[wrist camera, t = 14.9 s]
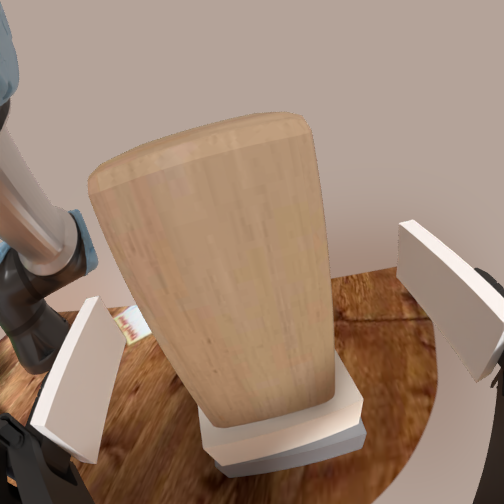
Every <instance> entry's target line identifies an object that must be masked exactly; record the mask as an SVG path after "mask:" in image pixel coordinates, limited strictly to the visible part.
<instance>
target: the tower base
mask: <svg viewBox="0 0 504 504" xmlns="http://www.w3.org/2000/svg"><path fill="white" fill-rule="evenodd" d="M365 437H366V430H365V428H364V425H363V422H362V420H361V417H360V419H359V424H357V425H355V426H353V427H350V428H348V429H345V430H343V431H341V432H338V433H336V434H333V435H330V436H328V437H325V438H323V439H320V440H317V441H314V442H311V443H309V444H306V445H303V446H300V447H296V448H293V449H290V450H287V451H283V452H280V453H277V454H273V455H269V456H266V457H262V458H258V459H254V460H249V461H245V462H241V463H236V464H231V465H226V466H221V465H220V464H219V463H218V462H217V461H216V460H215V467H216V468H217V469H219V470H220V471H221V472H222V473H223V474H225V475H226V476H227V477H228V478H233V477H241V476H249V475H256V474H262V473H268V472H274V471H279V470H285V469H289V468H294V467H299V466H303V465H307V464H311V463H315V462H319V461H322V460H326V459H330V458H333V457H336V456H340V455H343V454H346V453H349V452H352V451H355V450H358V449H361V448H362V446H363V443H364V440H365Z"/></svg>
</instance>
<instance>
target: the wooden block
mask: <svg viewBox="0 0 504 504" xmlns="http://www.w3.org/2000/svg"><path fill="white" fill-rule="evenodd" d="M88 194H89V198H90V200H91V203H92V206H93V209H94V211H95V214H96V216H97V219H98V221H99V224H100V226H101V229H102V231H103V233H104V236H105V238H106V241H107V243H108V245H109V247H110V250H111V252H112V254H113V256H114V259H115V261H116V263H117V265H118V267H119V270H120V272H121V274H122V276H123V278H124V280H125V282H126V284H127V286H128V288H129V290H130V292H131V294H132V296H133V298H134V300H135V301H136V304H137V306H138V308H139V309H140V311H141V313H142V315H143V317H144V319H145V321H146V322H147V324H148V326H149V328H150V330H151V331H152V333H153V335H154V337H155V338H156V340H157V342H158V343H159V345H160V347H161V349H162V350H163V352H164V354H165V355H166V357H167V359H168V360H169V362H170V363H171V365H172V367H173V368H174V370H175V371H176V373H177V374H178V376H179V378H180V379H181V381H182V382H183V384H184V385H185V387H186V388H187V390H188V391H189V393H190V394H191V396H192V397H193V399H194V400H195V401H196V403H197V404H198V406H199V407H200V409H201V410H202V411H203V413H204V414H205V416H206V417H207V418H208V420H209V421H210V422H211V424H212V425H213V426H214V427H217V428H229V427H235V426H240V425H245V424H249V423H254V422H258V421H263V420H267V419H271V418H275V417H279V416H283V415H286V414H290V413H294V412H297V411H300V410H304V409H307V408H310V407H314V406H317V405H320V404H323V403H326V402H327V401H329V400H330V399H332V398H333V397H334V395H335V347H334V322H333V304H332V289H331V276H330V265H329V254H328V244H327V234H326V225H325V216H324V208H323V200H322V194H321V186H320V179H319V172H318V166H317V159H316V153H315V147H314V141H313V135H312V130H311V129H310V127H309V125H308V124H307V122H306V121H305V119H304V118H303V116H301V115H297V114H293V113H289V112H270V113H254V114H249V115H245V116H240V117H236V118H231V119H227V120H223V121H219V122H215V123H211V124H207V125H203V126H200V127H196V128H193V129H189V130H186V131H182V132H179V133H176V134H173V135H169V136H166V137H163V138H160V139H157V140H154V141H151V142H148V143H145V144H142V145H139V146H137V147H135V148H133V149H131V150H129V151H126V152H124V153H122V154H120V155H118V156H116V157H114V158H112V159H110V160H108V161H106V162H104V163H102V164H100V165H99V166H98V168H97V169H95V171H94V172H93V173H92V174H91V175H90V176H89V179H88Z"/></svg>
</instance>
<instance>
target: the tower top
mask: <svg viewBox="0 0 504 504" xmlns="http://www.w3.org/2000/svg"><path fill="white" fill-rule="evenodd" d="M362 404H363V397H362V396H361V394H360V392H359V390H358V389H357V387H356V385H355V383H354V382H353V380H352V378H351V376H350V375H349V373H348V371H347V369H346V368H345V366H344V364H343V362H342V361H341V359H340V357H339V356H338V354H337V352H336V350H335V395H334V397H333V398H332V399H330V400H329V401H327V402H326V403H323V404H320V405H317V406H314V407H310V408H307V409H304V410H300V411H297V412H294V413H290V414H286V415H283V416H279V417H275V418H271V419H267V420H263V421H258V422H254V423H249V424H245V425H240V426H235V427H229V428H217V427H214V426H213V425H212V424H211V422H210V421H209V420H208V418H207V417H206V416H205V414H204V413H203V411H202V410H201V409H200V407H199V406H198V412H199V421H200V429H201V437H202V444H203V449H204V450H205V451H206V452H207V453H208V454H209V455H210V456H211V457H213V458H214V459H215V460H216V461H217V462H218V463H219V464H220V465H221V466H226V465H231V464H236V463H241V462H245V461H249V460H254V459H258V458H262V457H266V456H269V455H273V454H277V453H280V452H283V451H287V450H290V449H293V448H296V447H300V446H303V445H306V444H309V443H311V442H314V441H317V440H320V439H323V438H325V437H328V436H330V435H333V434H336V433H338V432H341V431H343V430H345V429H348V428H350V427H353V426H355V425H357V424H359V419H360V415H361V409H362Z"/></svg>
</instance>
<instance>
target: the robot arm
mask: <svg viewBox="0 0 504 504" xmlns="http://www.w3.org/2000/svg"><path fill="white" fill-rule="evenodd" d="M18 83H19V69H18V61H17V56H16V51H15V48H14V46H13V43H12V35H11V31H10V28H9V25H8V22H7V19H6V16H5V13H4V10H3V8H2V5H1V3H0V239H1V240H3V242H2V243H0V326H1V327H2V329H3V330H4V331H5V333H6V334H7V336H8V337H9V339H10V341H11V343H12V346H13V348H14V351H15V353H16V355H17V357H18V360H19V362H20V364H21V365H22V366H23V367H24V369H25V370H26V371H27V372H28V373H30V374H41V373H44V372H46V371H48V370H49V372H48V373H47V374H46V376H45V377H44V380H43V382H42V384H41V389H39V392H38V394H37V395H38V397H36V399H35V402H34V404H33V407H32V410H31V412H30V415H29V418H28V421H27V424H26V426H25V427H24V426H23V425H22V424H20V423H19V422H18V421H17V420H16V419H15V418H14V417H12V416H11V415H10V414H9V413H3V414H1V415H0V504H95V503H94V501H93V499H92V497H91V496H90V494H89V492H88V490H87V488H86V486H85V484H84V482H83V481H82V479H81V477H80V474H79V472H78V470H77V468H76V466H75V465H74V463H73V462H71V461H70V458H71V455H72V456H73V457H75V458H76V459H78V460H79V461H81V462H85V463H91V464H97V459H98V453H99V448H100V443H101V438H102V433H103V428H104V424H105V419H106V415H107V410H108V406H109V402H110V398H111V394H112V390H113V386H114V382H115V379H116V375H117V371H118V368H119V364H120V361H121V357H122V354H123V350H124V347H125V344H126V338H125V337H124V335H123V334H122V332H121V330H120V329H119V327H118V326H117V324H116V323H115V321H114V319H113V318H112V316H111V315H110V313H109V311H108V310H107V308H106V306H105V305H104V303H103V301H102V299H101V298H100V296H96V297H91V298H87V299H86V300H85V302H84V304H83V306H82V308H81V309H80V311H79V313H78V315H77V317H76V319H75V321H74V323H73V325H72V327H71V325H70V324H69V322H68V321H67V320H66V319H65V318H63V317H62V316H61V315H59V314H58V313H57V312H56V311H55V310H53V309H52V308H51V307H50V306H49V305H48V304H47V303H46V301H45V300H44V297H46V296H48V295H50V294H51V293H53V292H55V291H57V290H59V289H60V288H62V287H64V286H66V285H67V284H69V283H71V282H73V281H75V280H77V279H78V278H80V277H82V276H86V275H87V274H88V273H89V272H91V271H92V270H94V269H95V268H96V267H97V265H98V258H97V255H96V252H95V249H94V247H93V244H92V241H91V238H90V235H89V233H88V230H87V227H86V225H85V222H84V219H83V217H82V214H81V213H80V211H79V210H77V209H75V210H72V211H71V210H70V211H68V212H67V211H65V210H64V209H62V208H59V207H56V206H53V205H52V204H51V202H50V201H49V199H48V198H47V196H46V195H45V193H44V192H43V190H42V188H41V187H40V185H39V184H38V182H37V181H36V179H35V177H34V176H33V174H32V172H31V171H30V169H29V167H28V166H27V164H26V162H25V161H24V159H23V157H22V155H21V153H20V152H19V150H18V148H17V146H16V144H15V143H14V141H13V139H12V137H11V135H10V133H9V131H8V129H7V127H6V123H7V120H8V118H9V114H10V110H11V98H10V97H11V96H12V95H13V94H14V93H15V91H16V90H17V87H18ZM397 262H398V263H397V276H396V277H397V278H398V279H399V280H400V281H401V283H402V284H403V285H404V286H405V287H406V289H407V290H408V291H409V292H410V293H411V295H412V296H413V297H414V298H415V300H416V301H417V302H418V303H419V305H420V306H421V307H422V308H423V310H424V311H425V312H426V313H427V315H428V316H429V317H430V319H431V320H432V321H433V323H434V324H435V325H436V326H437V328H438V329H439V330H440V332H441V333H442V334H443V336H444V337H445V339H446V340H447V341H448V343H449V344H450V345H451V347H452V348H453V350H454V351H455V352H456V354H457V355H458V357H459V358H460V360H461V361H462V362H463V364H464V365H465V367H466V368H467V370H468V371H469V373H470V374H471V376H472V377H473V379H474V381H475V382H476V383H477V382H479V381H480V380H482V379H483V378H485V377H486V376H488V375H489V374H490V373H491V372H492V371H493V369H494V367H495V366H496V364H497V363H498V364H499V365H500V366H501V369H500V370H499V372H498V374H497V375H496V377H495V378H494V380H493V381H492V384H491V388H493V387H494V385H495V384H496V382H497V381H498V386H497V399H496V407H495V415H494V421H493V428H492V433H491V438H490V443H489V448H488V453H487V458H486V461H485V465H484V469H483V473H482V476H481V480H480V483H479V486H478V489H477V492H476V495H475V498H474V501H473V504H504V288H503V287H502V286H501V285H500V284H499V283H497V281H496V280H495V279H494V278H493V277H492V276H490V275H489V274H488V273H487V272H485V271H483V270H481V269H479V268H475V269H473V268H471V266H469V265H468V264H467V263H466V262H465V261H464V260H462V259H461V258H460V257H459V256H458V255H457V254H455V253H454V252H453V251H452V250H451V249H450V248H448V247H447V246H446V245H445V244H444V243H442V242H441V241H440V240H439V239H437V238H436V237H435V236H434V235H432V234H431V233H430V232H429V231H427V230H426V229H425V228H423V227H422V226H421V225H419V224H418V223H416V221H414V220H410V221H406V222H402V223H399V240H398V261H397ZM7 476H8V477H10V478H12V479H13V480H15V481H16V483H17V487H15V486H13V485H12V484H10V483H8V482H7Z"/></svg>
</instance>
